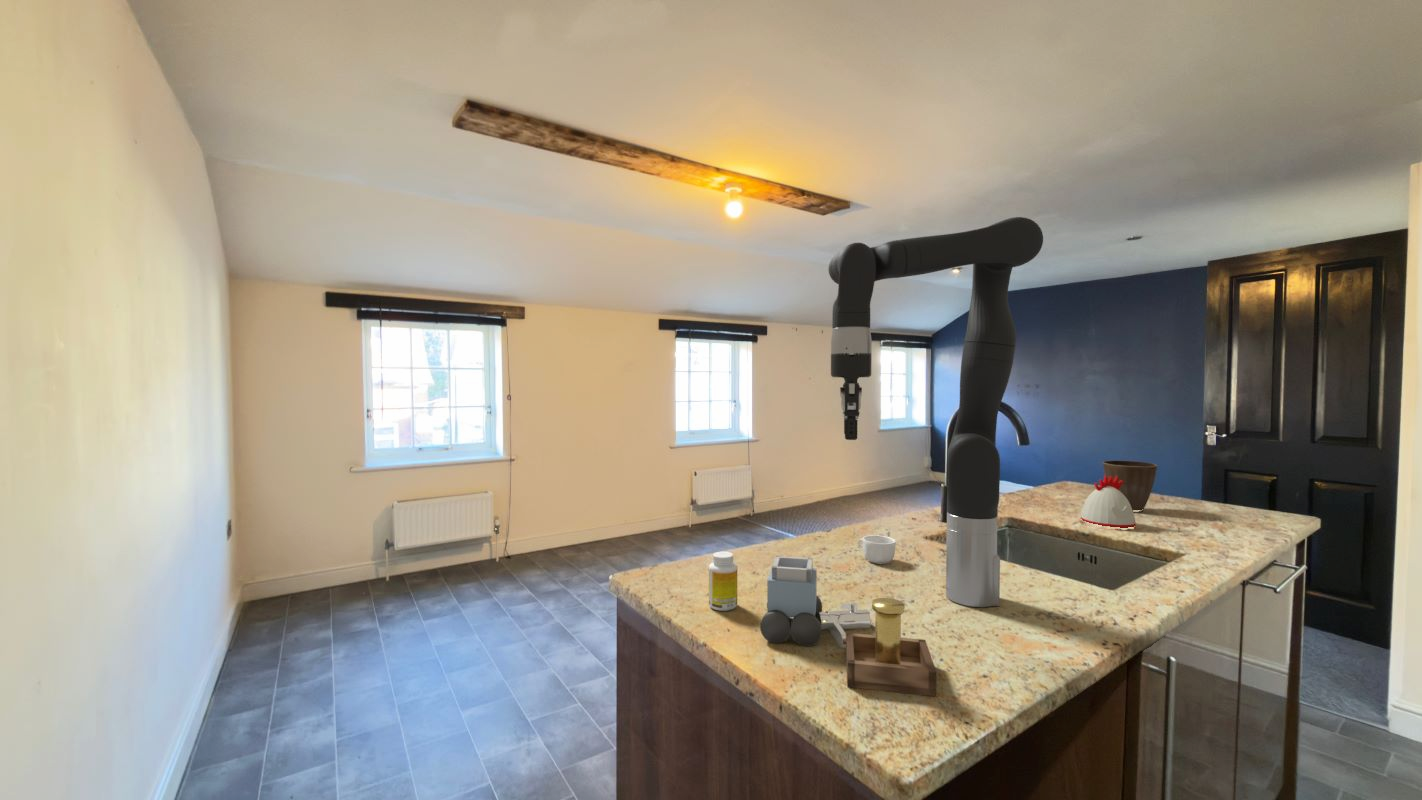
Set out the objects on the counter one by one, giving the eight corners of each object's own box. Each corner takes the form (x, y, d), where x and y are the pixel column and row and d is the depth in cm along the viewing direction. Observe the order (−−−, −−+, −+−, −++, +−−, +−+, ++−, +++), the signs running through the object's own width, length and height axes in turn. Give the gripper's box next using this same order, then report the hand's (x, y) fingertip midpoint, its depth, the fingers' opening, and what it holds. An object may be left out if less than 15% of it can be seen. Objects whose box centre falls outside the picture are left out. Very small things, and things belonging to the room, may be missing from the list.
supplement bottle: (742, 609, 109) (742, 556, 109) (716, 614, 107) (716, 560, 107) (729, 599, 114) (729, 548, 114) (704, 603, 112) (704, 552, 112)
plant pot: (1115, 514, 187) (1116, 466, 186) (1093, 504, 201) (1094, 459, 201) (1166, 516, 184) (1167, 467, 184) (1139, 506, 199) (1141, 460, 199)
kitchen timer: (1147, 530, 167) (1148, 479, 166) (1099, 530, 167) (1100, 479, 166) (1114, 519, 181) (1115, 472, 180) (1070, 519, 181) (1071, 472, 180)
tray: (924, 661, 89) (925, 639, 88) (936, 696, 79) (936, 671, 79) (845, 654, 91) (846, 632, 91) (847, 686, 81) (847, 662, 81)
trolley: (822, 619, 104) (822, 555, 104) (820, 647, 93) (821, 575, 93) (767, 615, 106) (767, 551, 106) (760, 641, 95) (760, 571, 95)
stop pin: (902, 662, 86) (902, 599, 86) (905, 678, 82) (906, 611, 81) (870, 659, 87) (871, 596, 87) (872, 674, 83) (873, 608, 82)
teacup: (902, 562, 138) (902, 540, 138) (883, 568, 133) (883, 545, 133) (867, 552, 146) (867, 531, 145) (848, 558, 141) (848, 536, 141)
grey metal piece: (864, 623, 104) (815, 625, 103) (864, 599, 103) (816, 601, 102) (886, 651, 94) (833, 654, 93) (887, 625, 93) (834, 627, 92)
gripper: (831, 354, 116) (830, 433, 116) (830, 350, 102) (830, 440, 102) (869, 353, 114) (868, 434, 115) (874, 350, 100) (873, 441, 101)
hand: (850, 437), depth 108 cm, fingers open, 8 cm apart
